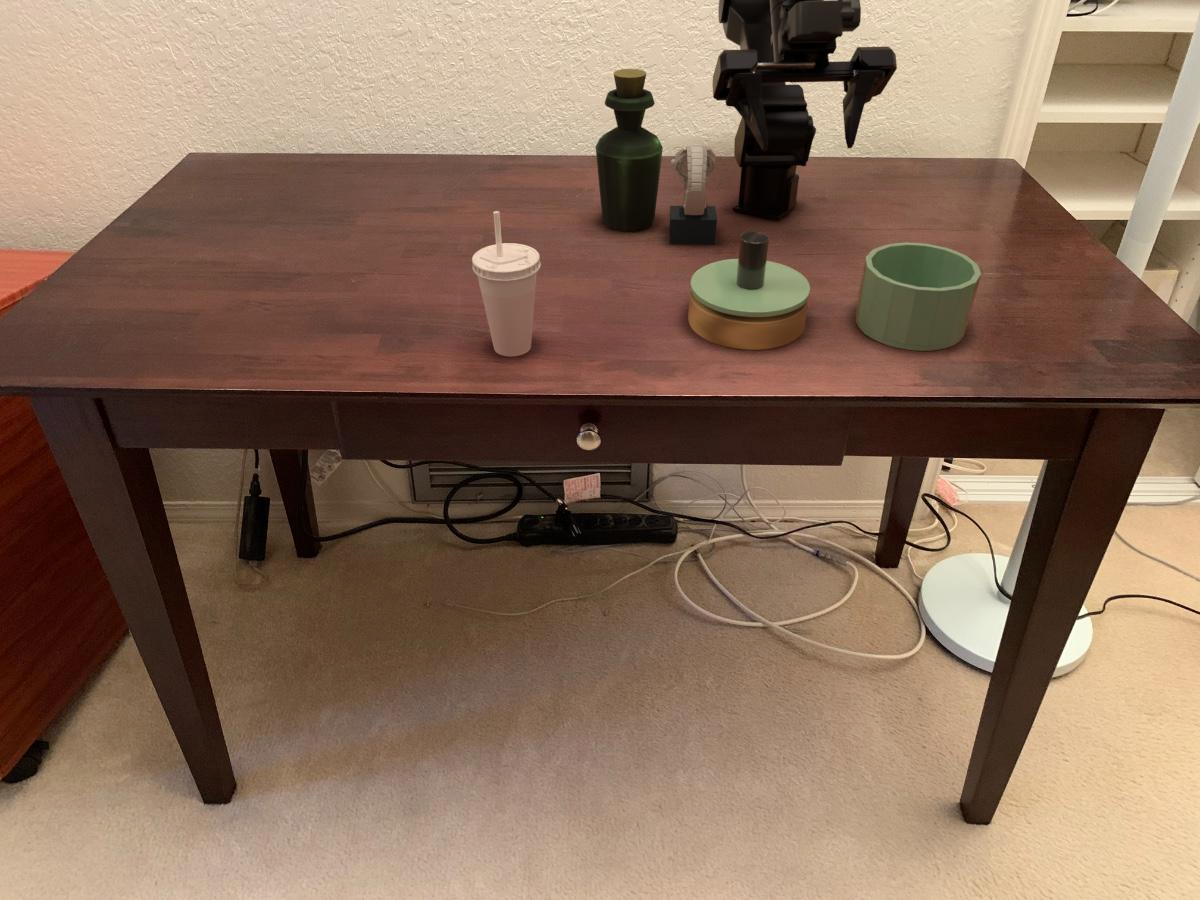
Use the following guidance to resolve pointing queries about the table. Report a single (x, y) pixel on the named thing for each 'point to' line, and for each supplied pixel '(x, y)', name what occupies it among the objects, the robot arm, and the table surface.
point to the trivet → (745, 327)
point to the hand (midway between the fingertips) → (808, 147)
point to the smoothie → (508, 291)
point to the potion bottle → (629, 157)
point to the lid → (750, 282)
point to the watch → (693, 198)
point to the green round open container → (916, 296)
